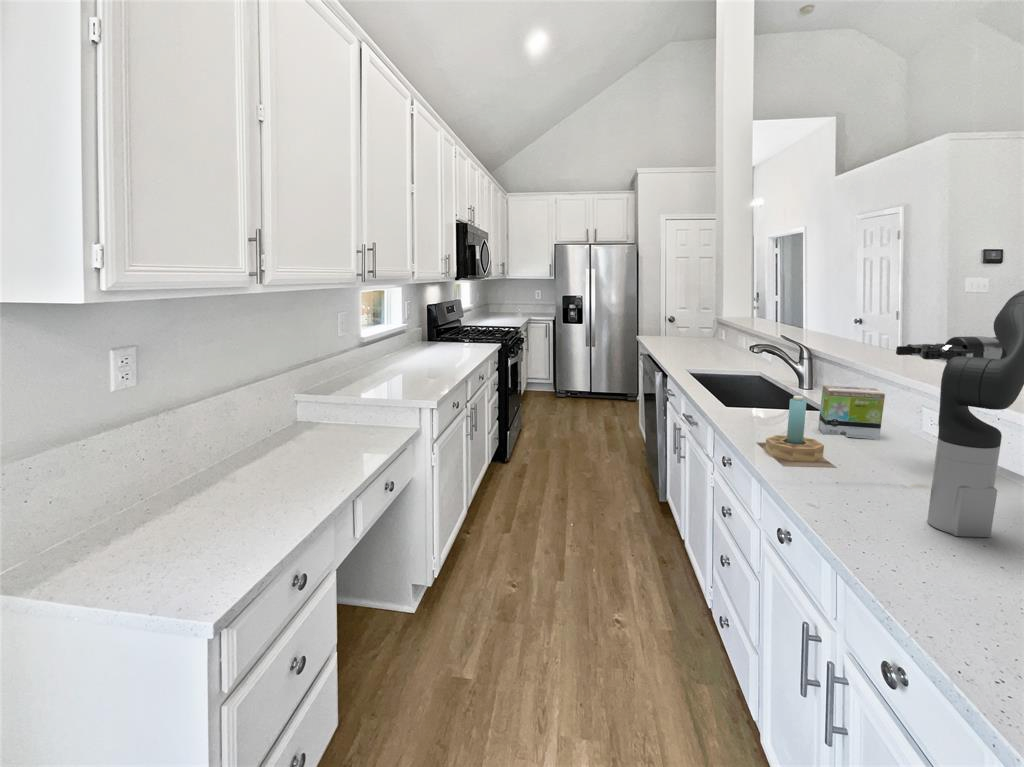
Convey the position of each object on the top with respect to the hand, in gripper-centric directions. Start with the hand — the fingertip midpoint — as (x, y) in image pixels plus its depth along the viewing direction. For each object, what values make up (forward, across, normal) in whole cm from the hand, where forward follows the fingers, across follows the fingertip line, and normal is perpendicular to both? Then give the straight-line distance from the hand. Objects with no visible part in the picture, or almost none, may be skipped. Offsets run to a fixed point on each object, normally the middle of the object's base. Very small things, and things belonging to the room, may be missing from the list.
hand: (910, 352), depth 137 cm
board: (+21, -11, +30) cm, 38 cm away
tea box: (-10, -33, +30) cm, 46 cm away
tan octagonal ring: (+21, -11, +29) cm, 37 cm away
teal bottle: (+21, -11, +29) cm, 37 cm away
